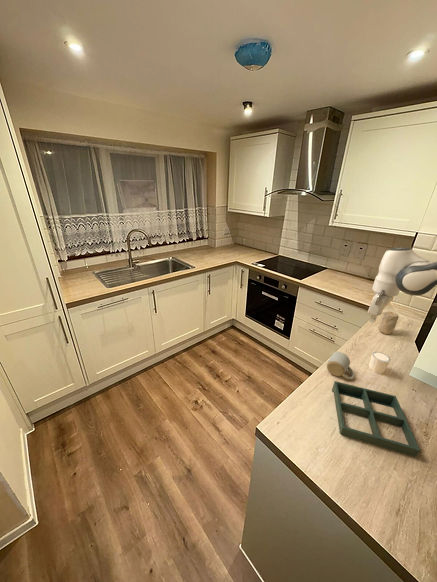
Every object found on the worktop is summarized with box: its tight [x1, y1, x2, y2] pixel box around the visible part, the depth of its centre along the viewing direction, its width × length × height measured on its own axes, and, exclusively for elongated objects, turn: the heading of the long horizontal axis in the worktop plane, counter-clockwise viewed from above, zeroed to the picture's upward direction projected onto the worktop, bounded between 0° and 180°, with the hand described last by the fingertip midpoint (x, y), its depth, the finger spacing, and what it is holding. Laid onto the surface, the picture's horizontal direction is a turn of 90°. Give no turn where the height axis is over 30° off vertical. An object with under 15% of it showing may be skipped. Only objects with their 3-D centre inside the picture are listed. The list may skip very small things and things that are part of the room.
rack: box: [331, 380, 421, 458], centre depth 79 cm, size 20×20×5 cm
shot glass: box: [368, 351, 392, 375], centre depth 102 cm, size 7×7×7 cm
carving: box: [377, 311, 400, 335], centre depth 129 cm, size 6×8×12 cm
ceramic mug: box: [326, 351, 355, 381], centre depth 99 cm, size 11×8×8 cm
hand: (375, 317), depth 98 cm, fingers open, 8 cm apart
